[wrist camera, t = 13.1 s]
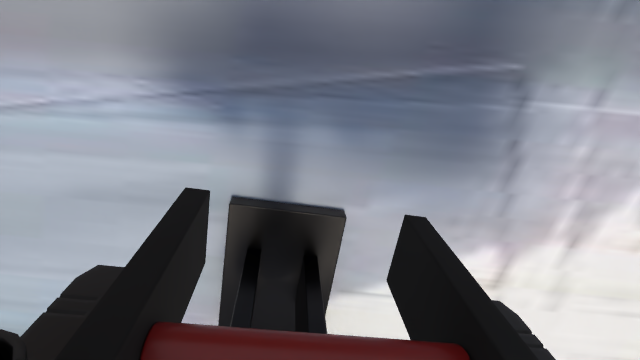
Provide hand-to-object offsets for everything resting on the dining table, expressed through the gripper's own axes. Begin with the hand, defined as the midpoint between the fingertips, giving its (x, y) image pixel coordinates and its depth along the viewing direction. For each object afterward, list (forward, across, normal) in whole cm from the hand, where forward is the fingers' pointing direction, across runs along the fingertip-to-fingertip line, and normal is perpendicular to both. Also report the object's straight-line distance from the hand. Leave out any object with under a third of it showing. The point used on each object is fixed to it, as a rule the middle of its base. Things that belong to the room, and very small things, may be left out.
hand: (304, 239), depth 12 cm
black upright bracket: (+12, 0, -10) cm, 16 cm away
